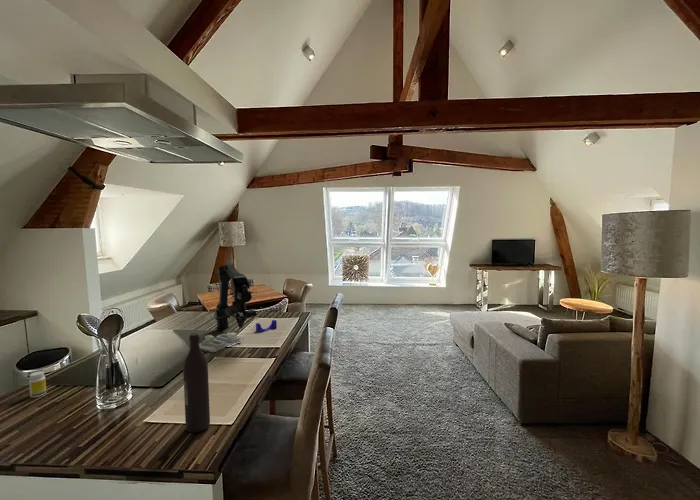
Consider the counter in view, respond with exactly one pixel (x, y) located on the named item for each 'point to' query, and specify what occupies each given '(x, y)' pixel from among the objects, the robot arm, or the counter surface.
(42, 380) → the supplement bottle
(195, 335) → the wine bottle
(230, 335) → the tab ivory
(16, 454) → the counter surface
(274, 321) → the blue u-shaped bracket
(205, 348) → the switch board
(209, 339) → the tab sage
